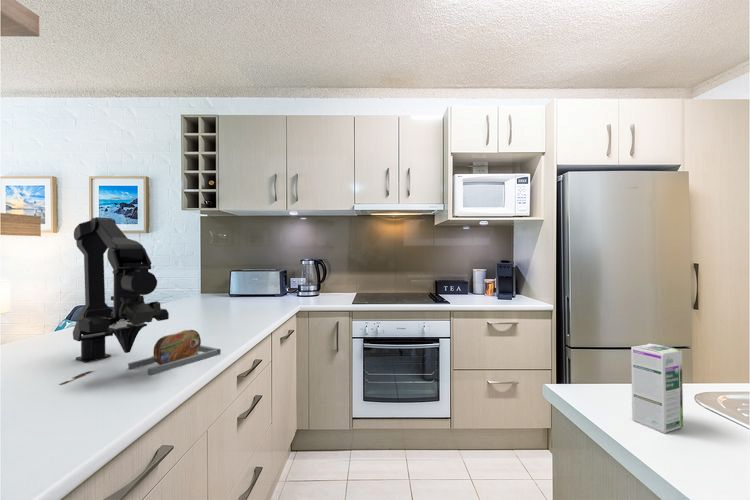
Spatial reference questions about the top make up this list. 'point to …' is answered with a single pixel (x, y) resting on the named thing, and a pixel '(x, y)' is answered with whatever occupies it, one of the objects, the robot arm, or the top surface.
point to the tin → (176, 346)
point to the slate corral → (208, 353)
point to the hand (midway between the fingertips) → (127, 352)
